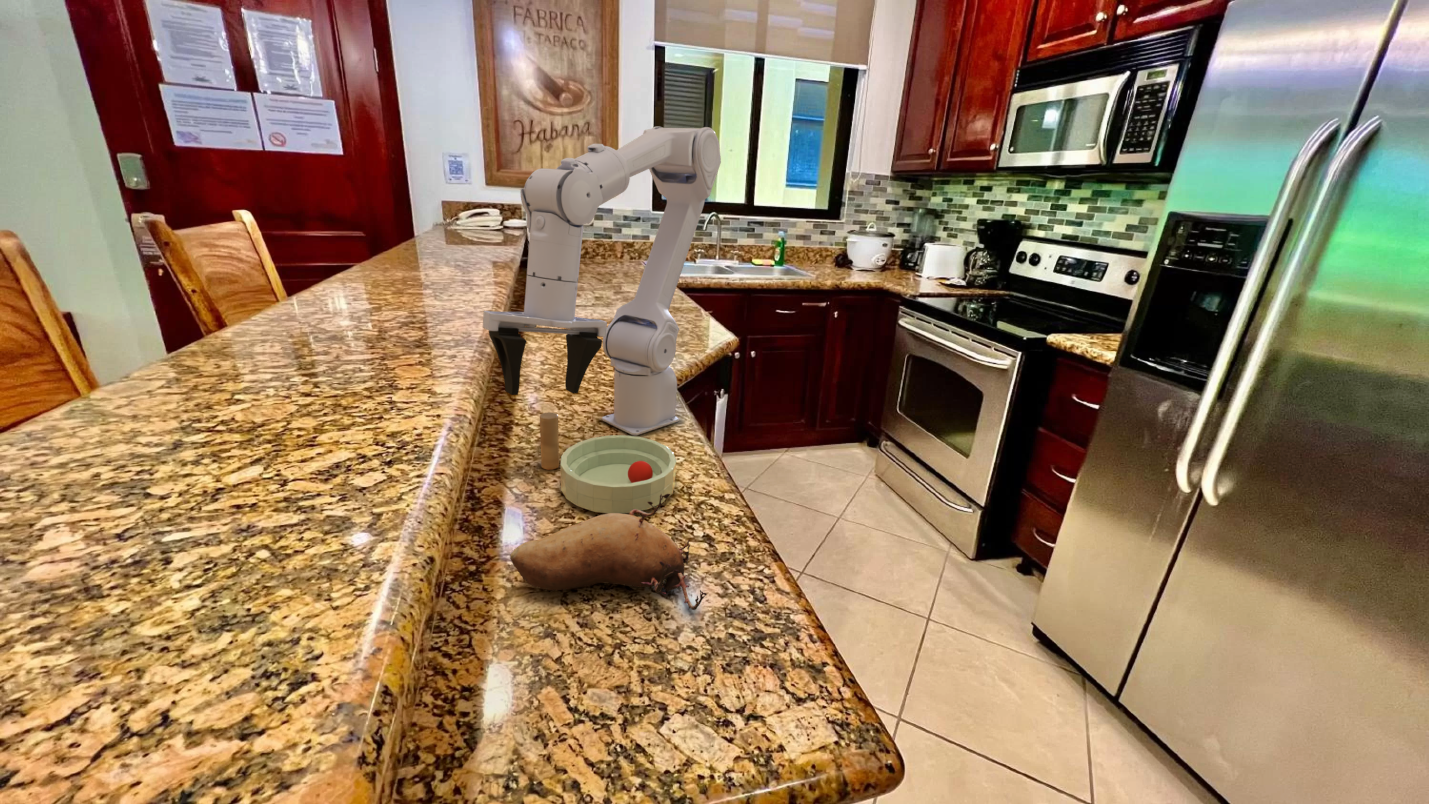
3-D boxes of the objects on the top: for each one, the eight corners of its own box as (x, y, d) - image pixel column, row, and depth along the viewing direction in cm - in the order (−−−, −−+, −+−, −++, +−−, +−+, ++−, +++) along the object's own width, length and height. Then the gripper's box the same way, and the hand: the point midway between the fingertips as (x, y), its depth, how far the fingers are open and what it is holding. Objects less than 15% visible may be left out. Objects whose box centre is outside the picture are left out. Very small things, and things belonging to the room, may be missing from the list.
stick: (553, 460, 72) (551, 410, 69) (562, 466, 70) (561, 416, 68) (538, 465, 70) (536, 414, 68) (547, 471, 69) (546, 420, 66)
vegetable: (496, 635, 40) (505, 494, 41) (510, 602, 50) (517, 491, 51) (709, 622, 44) (710, 495, 45) (681, 594, 54) (683, 491, 56)
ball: (641, 476, 68) (641, 454, 67) (657, 485, 67) (658, 463, 66) (622, 483, 66) (622, 461, 65) (638, 493, 64) (639, 470, 63)
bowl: (625, 453, 75) (626, 426, 74) (696, 490, 67) (698, 461, 66) (538, 484, 66) (537, 454, 64) (609, 533, 58) (609, 499, 56)
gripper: (503, 274, 56) (494, 402, 59) (624, 289, 66) (611, 398, 69) (479, 268, 61) (472, 386, 64) (595, 282, 71) (584, 385, 74)
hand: (542, 392), depth 67 cm, fingers open, 7 cm apart
